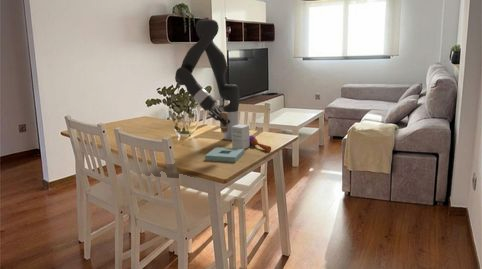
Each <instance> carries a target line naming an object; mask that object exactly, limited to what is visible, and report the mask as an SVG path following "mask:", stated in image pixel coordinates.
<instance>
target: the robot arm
mask: <svg viewBox="0 0 482 269" xmlns="http://www.w3.org/2000/svg"><path fill="white" fill-rule="evenodd" d="M195 31H196V34H197V36H198V38H199V40H198V41H197V42H195V44H193V45H192V46H191V47H190V48H189V49H188V51H187V52H186V54H185V55H184V58H183V60H182V62H181V66H180V67H178V69H177V70H176V71H175V75H174V76H175V77H174V79H175V82H176V83H177V84H178V85H179V86H185V88H186V91H187V93H188V94H189V96H191V97H192V98H193V99H194V100H195V102H196V104H198V105H199V106H200V107H201V108H202V110H204V111H205V112H206V111H208V115H209V116H210V117H212V118H213V119H214V120H216V122H217V121H218V122H221V123H222V124H223V125H224V126H226V125H227V124H228V129H227V131H228V132H226V133H223V138H224V139H223V140H227V141H232V126H235V125H238V124H240V121H239V120H240V119H239V107H240V106H239V105H240V88H239V86H238V85H237V84H228V83H227V81H226V79H225V76H226V73H227V70H228V63H227V60H226V56H225V54H224V52H223V51H222V50H221V49H220V48H219V47H218V46H217V45H216V43H215V42H214V41H213V40H214V39H215V37H216V36H217V35H218V33H219V23H218V21H217V20H215V19H211V18H210V19H205V18H204V19H198V20H197V21H196V23H195ZM204 52H205V53H206V56H207V59H208V62H209V65H210V67H211V71H212V72H213V75H214V78H215V82H216V85H217V90H218V93H219V96H220V97H221V99H223V100H227V101H229V104H226V105H224V106H223V107H222V106H220V105H219V106H218V105H217V104H216V102H217V100H216V99H215V98H214V97H213V96H212V95H211V93H209V92H208V91H207V90H206V89H205V88H204V87H202V85H201V84H200V83H199V82H198V81H197V79H196V78H195V77H194V75H193V72H194V70H195V67H196V66H197V64H198V62H199V60H200V59H201V57H202V55H203V54H204ZM220 112H228V122H227V121H226V120H225V119H224V118H223V117H222V116H221V115H220V114H221V113H220Z"/></svg>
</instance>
